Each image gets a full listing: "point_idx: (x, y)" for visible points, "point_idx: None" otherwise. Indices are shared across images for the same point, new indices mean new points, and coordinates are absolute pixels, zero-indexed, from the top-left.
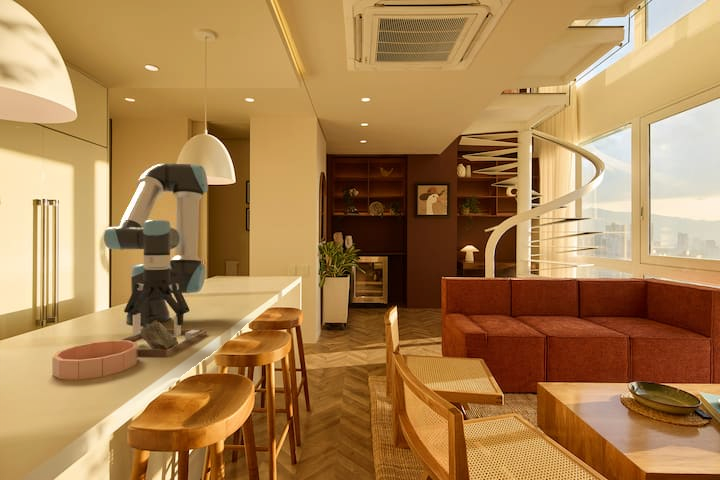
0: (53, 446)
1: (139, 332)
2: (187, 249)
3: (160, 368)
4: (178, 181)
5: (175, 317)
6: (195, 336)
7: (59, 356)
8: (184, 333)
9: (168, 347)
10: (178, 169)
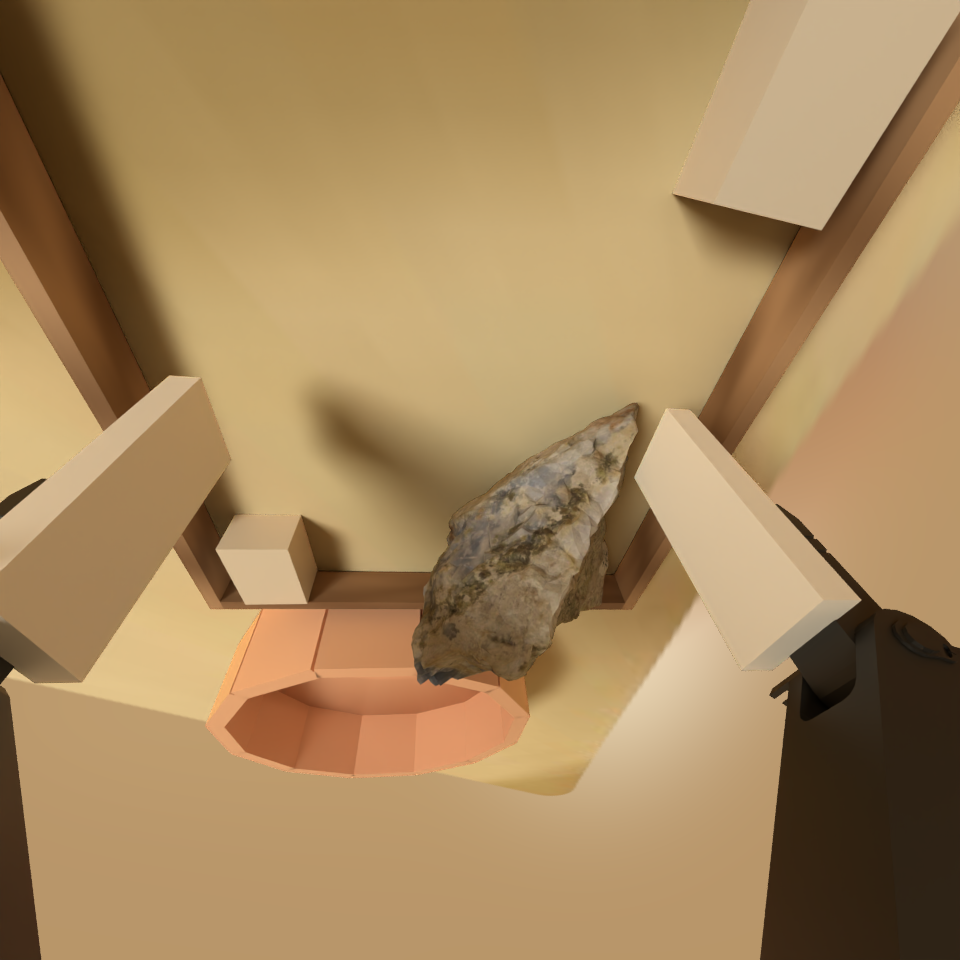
0: (563, 783)
1: (199, 403)
2: None
3: (624, 656)
4: None
5: (747, 647)
6: (818, 310)
7: (276, 749)
8: None
9: (604, 532)
10: None
